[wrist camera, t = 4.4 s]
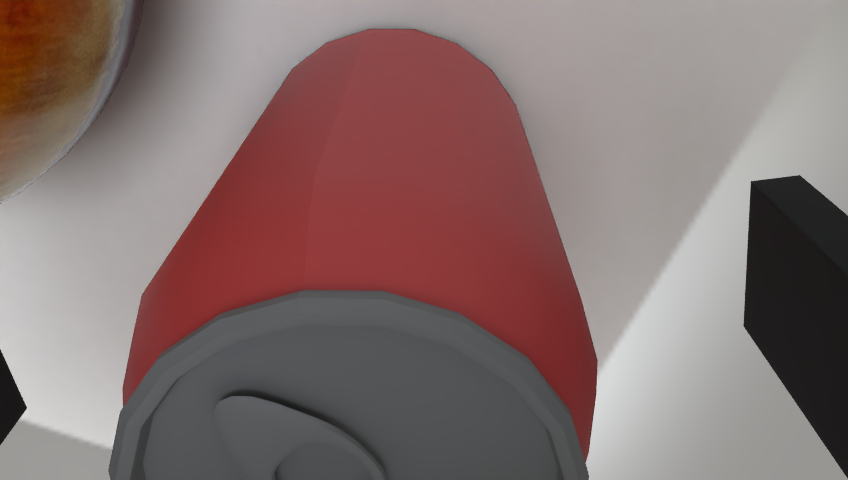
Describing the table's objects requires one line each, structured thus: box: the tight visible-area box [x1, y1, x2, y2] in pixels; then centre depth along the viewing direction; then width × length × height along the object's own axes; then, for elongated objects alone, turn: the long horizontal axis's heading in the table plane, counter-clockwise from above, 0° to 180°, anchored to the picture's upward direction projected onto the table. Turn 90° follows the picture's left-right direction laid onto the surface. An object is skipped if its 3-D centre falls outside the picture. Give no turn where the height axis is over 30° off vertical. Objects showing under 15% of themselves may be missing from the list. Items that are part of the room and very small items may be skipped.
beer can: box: [109, 29, 597, 480], centre depth 14 cm, size 7×7×12 cm
